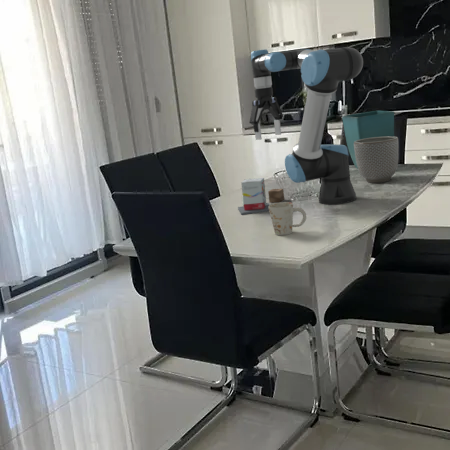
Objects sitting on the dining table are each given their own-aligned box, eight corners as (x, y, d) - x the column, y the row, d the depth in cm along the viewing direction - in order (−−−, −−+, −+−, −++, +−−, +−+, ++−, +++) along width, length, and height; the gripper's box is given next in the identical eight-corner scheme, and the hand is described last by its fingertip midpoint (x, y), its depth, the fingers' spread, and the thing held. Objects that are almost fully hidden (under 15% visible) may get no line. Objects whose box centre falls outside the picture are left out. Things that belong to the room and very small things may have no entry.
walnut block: (284, 199, 273) (283, 188, 272) (280, 202, 269) (279, 191, 268) (273, 200, 276) (272, 189, 275) (269, 202, 271) (268, 191, 270)
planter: (406, 176, 291) (403, 135, 287) (392, 184, 275) (389, 141, 271) (365, 177, 302) (362, 137, 297) (350, 185, 286) (346, 143, 281)
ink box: (264, 209, 256) (261, 180, 253) (243, 210, 258) (240, 182, 255) (267, 204, 264) (264, 176, 261) (247, 206, 266) (244, 178, 263)
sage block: (259, 204, 270) (258, 195, 269) (243, 207, 269) (242, 198, 269) (258, 203, 274) (257, 194, 273) (242, 205, 273) (241, 196, 272)
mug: (269, 232, 220) (266, 204, 218) (305, 227, 221) (302, 199, 219) (273, 237, 212) (270, 208, 210) (310, 232, 213) (307, 203, 211)
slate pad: (268, 204, 267) (267, 202, 267) (273, 210, 255) (272, 208, 254) (238, 208, 266) (237, 207, 266) (241, 214, 254) (241, 213, 254)
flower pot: (361, 174, 311) (356, 116, 305) (345, 169, 330) (341, 115, 324) (398, 168, 315) (394, 111, 308) (381, 164, 334) (377, 110, 327)
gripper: (274, 85, 279) (279, 133, 283) (237, 91, 261) (243, 141, 266) (287, 83, 274) (292, 132, 278) (251, 89, 256) (256, 141, 261)
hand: (268, 137), depth 272 cm, fingers open, 13 cm apart
